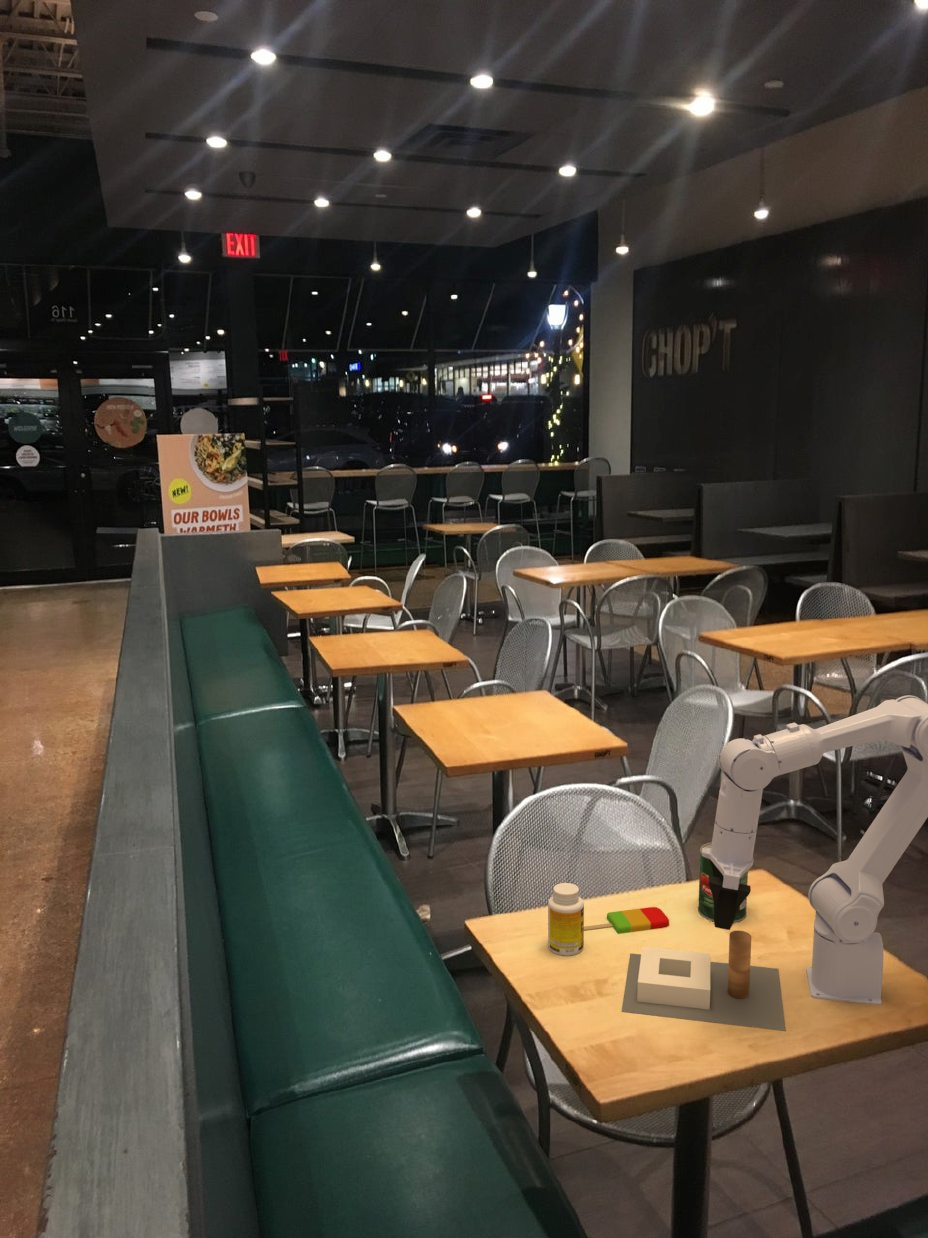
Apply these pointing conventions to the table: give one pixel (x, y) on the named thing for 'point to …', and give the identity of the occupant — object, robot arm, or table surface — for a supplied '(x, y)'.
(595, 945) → the table surface
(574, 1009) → the table surface
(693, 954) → the hole block
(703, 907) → the canned tomato
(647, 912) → the popsicle
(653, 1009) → the mat
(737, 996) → the peg
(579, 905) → the supplement bottle
